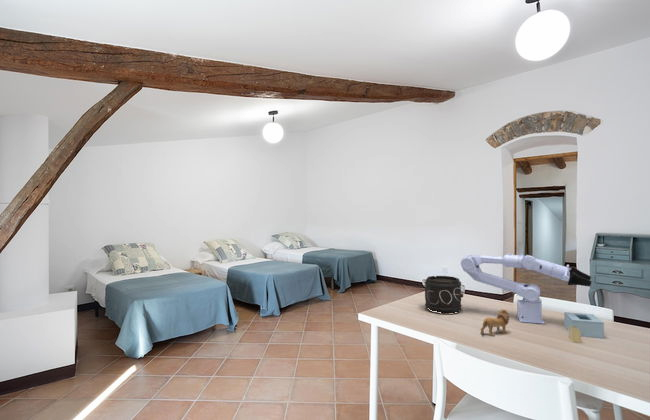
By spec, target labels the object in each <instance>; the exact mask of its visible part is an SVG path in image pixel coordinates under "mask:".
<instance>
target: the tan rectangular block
mask: <svg viewBox="0 0 650 420" xmlns="http://www.w3.org/2000/svg"><path fill="white" fill-rule="evenodd" d="M567 332H568V338H569V340H570V341H571V342H572V343H578V344H579V343H582V342H581V341H582V340H581V337H582V336H581V333H580V330H579V329H578V328H577V327H575V326H568V329H567Z"/></svg>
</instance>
